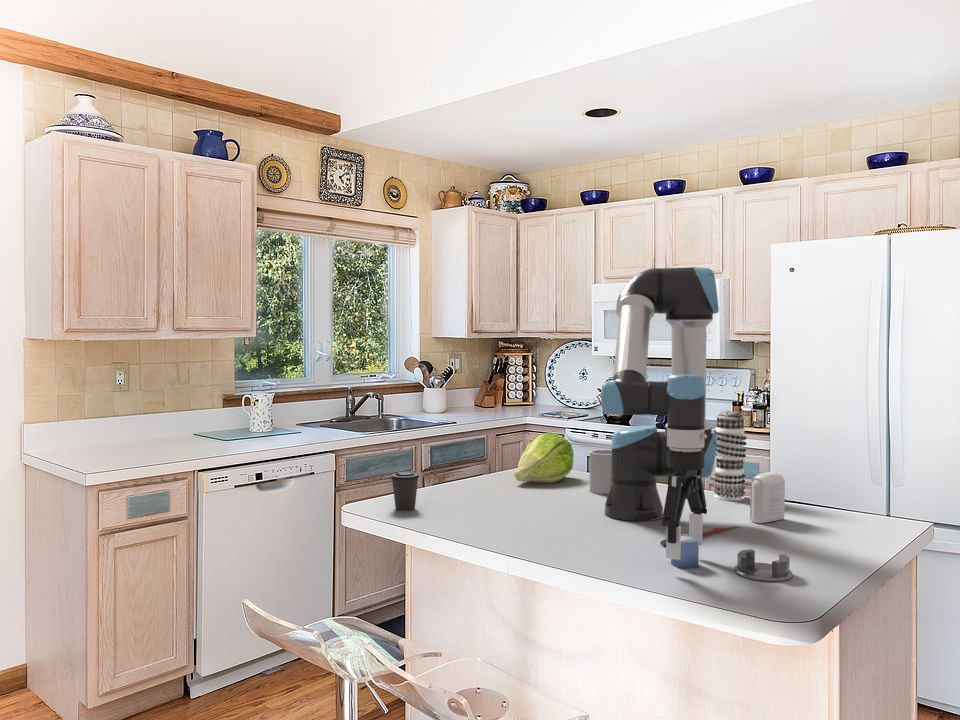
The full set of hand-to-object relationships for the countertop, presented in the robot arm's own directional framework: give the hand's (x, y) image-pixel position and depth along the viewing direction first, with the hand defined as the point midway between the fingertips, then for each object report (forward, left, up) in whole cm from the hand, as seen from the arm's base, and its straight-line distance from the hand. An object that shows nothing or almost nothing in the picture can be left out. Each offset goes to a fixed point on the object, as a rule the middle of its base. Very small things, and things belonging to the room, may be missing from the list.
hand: (684, 551), depth 159 cm
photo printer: (+5, +48, -3) cm, 49 cm away
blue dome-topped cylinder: (0, 0, -3) cm, 3 cm away
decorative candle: (-11, +70, -3) cm, 71 cm away
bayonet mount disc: (+15, +3, -3) cm, 15 cm away
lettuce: (-69, +62, -3) cm, 93 cm away
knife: (-6, +25, -4) cm, 26 cm away
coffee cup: (-81, +7, -3) cm, 81 cm away
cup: (-45, +58, -3) cm, 74 cm away
